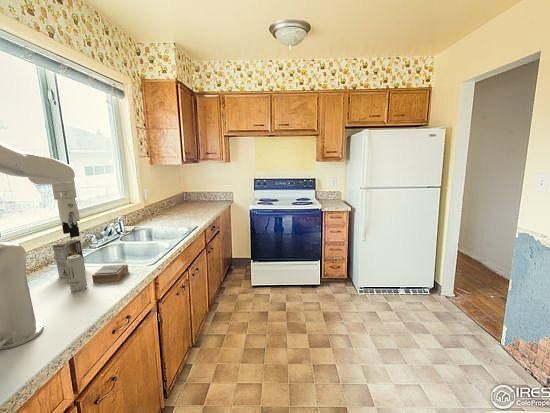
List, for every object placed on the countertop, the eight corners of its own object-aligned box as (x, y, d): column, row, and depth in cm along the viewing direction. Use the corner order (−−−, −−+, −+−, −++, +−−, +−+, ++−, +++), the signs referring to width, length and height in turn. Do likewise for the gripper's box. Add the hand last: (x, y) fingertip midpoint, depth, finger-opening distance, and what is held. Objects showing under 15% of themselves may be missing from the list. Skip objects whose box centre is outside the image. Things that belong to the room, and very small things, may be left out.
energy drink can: (67, 291, 119) (61, 258, 116) (79, 285, 124) (74, 253, 122) (78, 293, 117) (73, 259, 115) (90, 286, 123) (85, 254, 120)
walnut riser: (118, 282, 127) (117, 273, 126) (93, 283, 126) (91, 274, 125) (128, 271, 138) (127, 263, 137) (105, 273, 136) (103, 265, 136)
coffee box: (75, 269, 142) (70, 239, 139) (85, 270, 141) (80, 240, 138) (58, 277, 133) (52, 245, 130) (69, 278, 132) (63, 246, 129)
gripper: (82, 195, 112) (88, 236, 115) (69, 192, 123) (75, 230, 126) (59, 197, 106) (66, 240, 109) (48, 194, 117) (55, 233, 120)
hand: (71, 234), depth 117 cm, fingers open, 9 cm apart
